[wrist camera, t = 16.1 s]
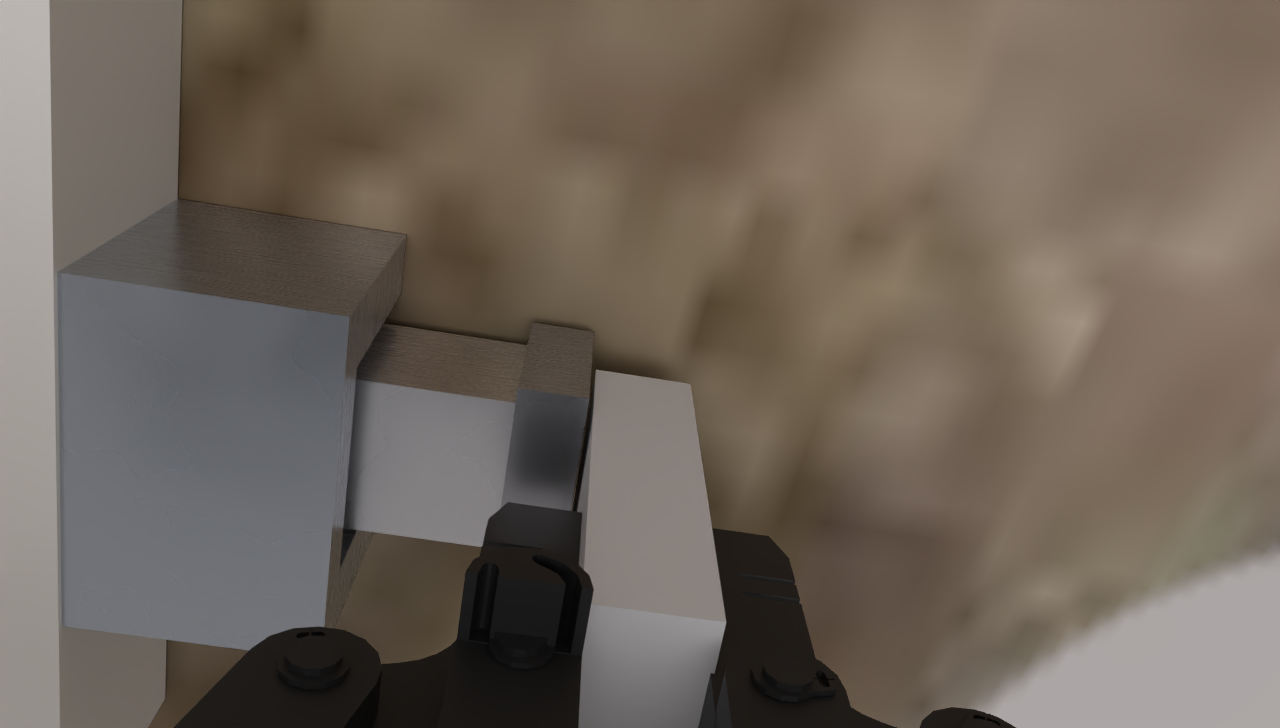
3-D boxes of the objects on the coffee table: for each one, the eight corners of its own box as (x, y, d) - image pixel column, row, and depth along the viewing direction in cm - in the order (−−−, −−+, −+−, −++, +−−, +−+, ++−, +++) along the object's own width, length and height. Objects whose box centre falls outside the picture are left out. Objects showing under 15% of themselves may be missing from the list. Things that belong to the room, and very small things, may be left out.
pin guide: (169, 490, 20) (62, 626, 16) (177, 198, 18) (57, 272, 14) (378, 519, 20) (321, 659, 16) (406, 234, 18) (349, 316, 14)
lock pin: (-37, 420, 19) (-143, 500, 16) (-45, 234, 18) (-160, 286, 15) (565, 505, 20) (557, 595, 17) (594, 331, 18) (589, 398, 16)
